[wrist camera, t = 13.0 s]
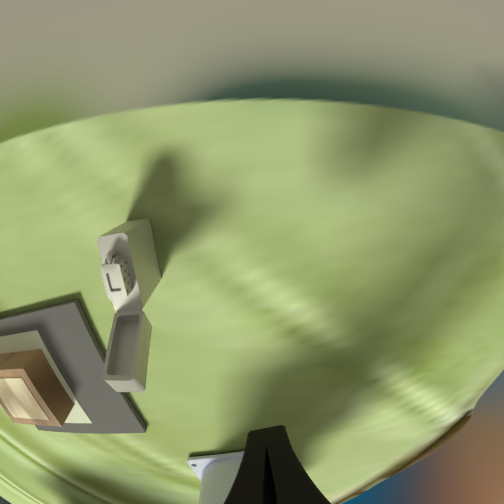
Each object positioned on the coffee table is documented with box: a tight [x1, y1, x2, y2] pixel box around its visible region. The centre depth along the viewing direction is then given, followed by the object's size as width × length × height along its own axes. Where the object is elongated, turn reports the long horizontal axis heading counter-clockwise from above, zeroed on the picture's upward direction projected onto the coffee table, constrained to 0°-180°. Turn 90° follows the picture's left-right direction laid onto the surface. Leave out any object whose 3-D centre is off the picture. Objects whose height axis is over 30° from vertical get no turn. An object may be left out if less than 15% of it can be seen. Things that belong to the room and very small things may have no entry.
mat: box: [0, 299, 147, 433], centre depth 21 cm, size 13×14×1 cm
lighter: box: [97, 218, 162, 392], centre depth 16 cm, size 7×2×8 cm, turn 7°
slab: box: [0, 349, 74, 427], centre depth 19 cm, size 6×3×7 cm
